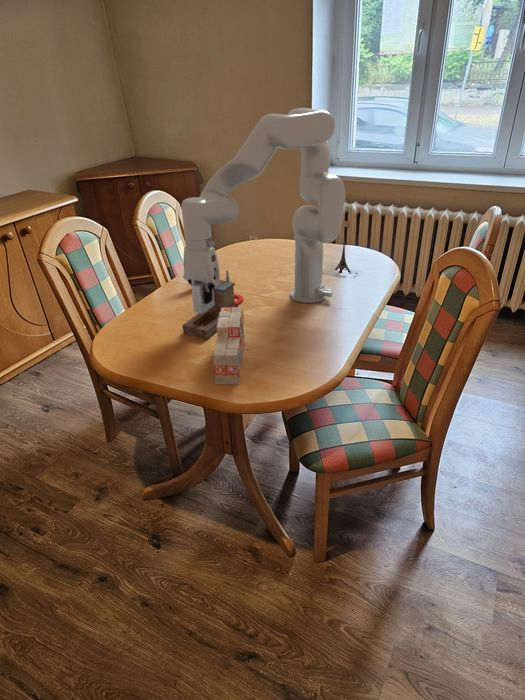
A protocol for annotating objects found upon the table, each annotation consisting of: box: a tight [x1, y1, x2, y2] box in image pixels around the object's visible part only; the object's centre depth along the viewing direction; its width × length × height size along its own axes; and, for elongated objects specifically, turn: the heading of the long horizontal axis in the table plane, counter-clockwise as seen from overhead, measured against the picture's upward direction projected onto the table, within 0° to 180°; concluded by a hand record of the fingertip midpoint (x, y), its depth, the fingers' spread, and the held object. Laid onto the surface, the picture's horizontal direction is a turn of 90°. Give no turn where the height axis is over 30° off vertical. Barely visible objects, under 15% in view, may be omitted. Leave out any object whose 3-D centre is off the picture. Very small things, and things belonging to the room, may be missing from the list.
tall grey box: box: [190, 281, 215, 314], centre depth 140 cm, size 3×7×9 cm, turn 152°
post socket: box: [182, 279, 236, 341], centre depth 146 cm, size 9×19×11 cm, turn 152°
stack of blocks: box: [213, 306, 246, 385], centre depth 125 cm, size 21×6×12 cm, turn 178°
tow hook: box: [225, 270, 244, 307], centre depth 159 cm, size 8×13×9 cm
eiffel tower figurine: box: [334, 240, 351, 273], centre depth 180 cm, size 15×10×13 cm
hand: (203, 300), depth 141 cm, fingers closed on tall grey box, 3 cm apart
